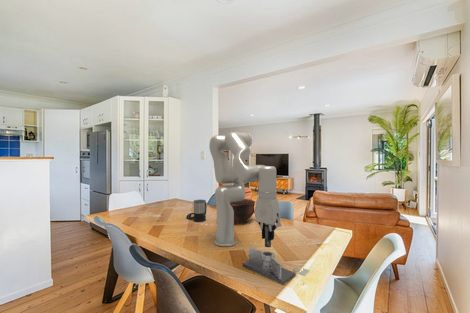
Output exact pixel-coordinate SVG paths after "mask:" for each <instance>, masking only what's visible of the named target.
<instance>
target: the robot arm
mask: <svg viewBox="0 0 470 313" xmlns="http://www.w3.org/2000/svg"><path fill="white" fill-rule="evenodd" d="M252 144H253V139H252V136H251V135H250V134H249V133H248V132H243V131H242V132H241V131H231V132H228V133H227V134H226V135H225V134H217V135H214V136H212V137H211V138H210V141H209V151H210V155H211V157H212V161H213V168H214V176H215V180H216V182H217V183H218V184H229V185H221V186H218V187H217V188H216V189H215V191H214V197H215V198H214V199H215V203H216V205H215V206H216V231H215V232H214V233H213V236H214V237H215V239H214V240H213V243H214V245H216V246H217V247H223V248H224V247H231V246H234V245H236V244H237V243H238V240H237V238H236V237H235V227H234V226H235V223H234V210H233V208H232V206H231V205H230V203H231V202H238V201H242V200H243V199H246V189H245V183H246V184H247V183H258V184H257V185H258V186H257V188H258V191H256V194H257V195H258V197H257V198H256V201H255V207H254V219H255V220H254V221H255V222H256V223H257V224H258V226H259V227H260V230H261V239H262V240H265V224H269V231H268V241H271V242H272V241H273V240H275V230H276V229H277V228H280V227H282V223H281V219H280V218H281V212H280V204H279V199H278V198H277V197H278V196H277V192H278V191H277V168H276V166H274V165H273V166H271V165H264V164H248V165H247V164H245V163H244V161H246V160H247V159H248V158H249V156H250V155H251V153H252V152H251V149H250V147H251V146H252ZM223 151H230V152H231V154H232V155H233V156H234V157H233V159H232V166H230V164H229V157H228V156H227V154H226V153H224V152H223Z"/></svg>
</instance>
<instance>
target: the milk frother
mask: <svg viewBox="0 0 470 313" xmlns="http://www.w3.org/2000/svg"><path fill="white" fill-rule="evenodd" d="M192 202H193V212H191V213H188V214H187V215H186V219H187V220H188V219H189V220H193V222H196V223H203V222H205V221H207V219H206V215H207V206H208V205H207V201H206V200H205V199H195V200H194V199H193V201H192ZM192 215H193V216H192Z"/></svg>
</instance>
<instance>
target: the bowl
mask: <svg viewBox="0 0 470 313" xmlns="http://www.w3.org/2000/svg"><path fill="white" fill-rule="evenodd" d="M230 205H231V206H232V208H233V210H234V225H235V224H237V225H238V224H246V223H247V221H249V219H250V218H251V217H252V216H253V214H255V206H256V201H254V200H252V199H248V198H244V199H243V200H242V201H238V202H231V203H230Z"/></svg>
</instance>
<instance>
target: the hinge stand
mask: <svg viewBox="0 0 470 313" xmlns="http://www.w3.org/2000/svg"><path fill="white" fill-rule="evenodd" d="M271 257H273V258H274V259H275V252H273V251H270V250H268V251H267V250H265V251H264V250H260V249H257V248H254V247H251V246H249V247H248V260H247V261H246V260H245V261H244V262H243V263H241V264H242V265H241V266H242V267H244V268H245V269H248V270H250V271H252V272H254V273H256V274H258V275H261V276H263V277H265V278H268V279H269V280H272V281H273V282H276V283H278V284H281V285H285V284H286V283H288V282H289V281H291V280H292V279H293V278H294V277H296V272H294V271H291V270H289V269H287V268H284V267H282V266H281V280H280V279H278V278H277V277H276V276H275V275H274V274H273V273H272V272H271V266H264V265H262V264H261V259H262V260H264V261H271ZM275 260H276V259H275Z"/></svg>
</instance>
